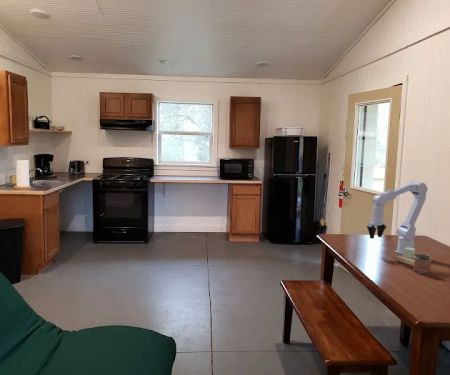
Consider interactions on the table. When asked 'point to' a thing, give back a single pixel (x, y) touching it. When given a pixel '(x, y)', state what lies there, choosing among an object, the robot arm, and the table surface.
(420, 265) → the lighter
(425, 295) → the table surface
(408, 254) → the sage block
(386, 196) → the robot arm
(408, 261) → the maple block
